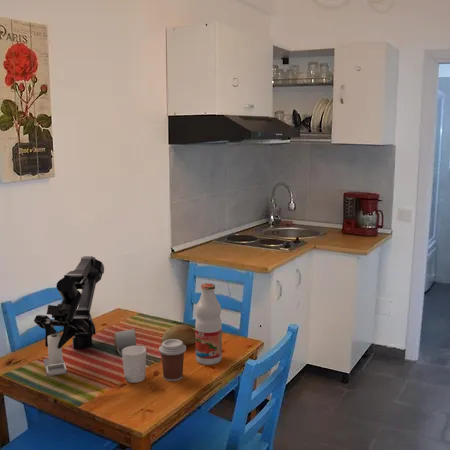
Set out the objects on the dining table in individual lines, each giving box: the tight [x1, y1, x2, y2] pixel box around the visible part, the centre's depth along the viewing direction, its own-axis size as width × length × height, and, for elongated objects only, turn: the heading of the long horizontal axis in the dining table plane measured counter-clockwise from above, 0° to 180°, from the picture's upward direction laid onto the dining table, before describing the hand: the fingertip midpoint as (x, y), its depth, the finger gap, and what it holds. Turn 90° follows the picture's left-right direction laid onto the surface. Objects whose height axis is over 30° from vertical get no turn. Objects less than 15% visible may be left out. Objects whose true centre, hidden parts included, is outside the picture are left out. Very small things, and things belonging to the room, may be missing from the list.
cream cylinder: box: [47, 333, 64, 364], centre depth 182 cm, size 4×4×9 cm
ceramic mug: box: [113, 328, 137, 357], centre depth 202 cm, size 11×8×8 cm
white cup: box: [121, 345, 147, 384], centre depth 180 cm, size 8×8×10 cm
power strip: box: [43, 356, 68, 377], centre depth 187 cm, size 15×6×2 cm, turn 23°
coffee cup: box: [158, 339, 187, 382], centre depth 181 cm, size 9×9×12 cm
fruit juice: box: [194, 282, 223, 366], centre depth 193 cm, size 9×9×28 cm
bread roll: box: [160, 324, 196, 346], centre depth 208 cm, size 10×15×8 cm, turn 117°
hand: (52, 347), depth 180 cm, fingers closed on cream cylinder, 4 cm apart
